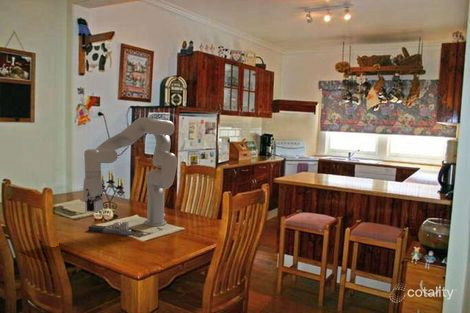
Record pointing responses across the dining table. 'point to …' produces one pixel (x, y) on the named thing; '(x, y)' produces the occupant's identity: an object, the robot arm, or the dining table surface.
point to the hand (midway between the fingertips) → (94, 208)
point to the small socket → (117, 225)
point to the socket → (95, 204)
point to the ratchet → (112, 229)
